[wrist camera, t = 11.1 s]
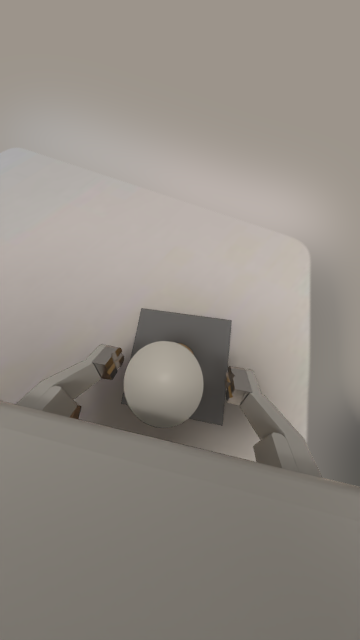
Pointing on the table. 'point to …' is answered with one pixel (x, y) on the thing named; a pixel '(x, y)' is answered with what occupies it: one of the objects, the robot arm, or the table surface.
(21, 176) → the table surface
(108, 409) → the table surface
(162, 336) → the mat
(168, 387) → the pill bottle
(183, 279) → the table surface
